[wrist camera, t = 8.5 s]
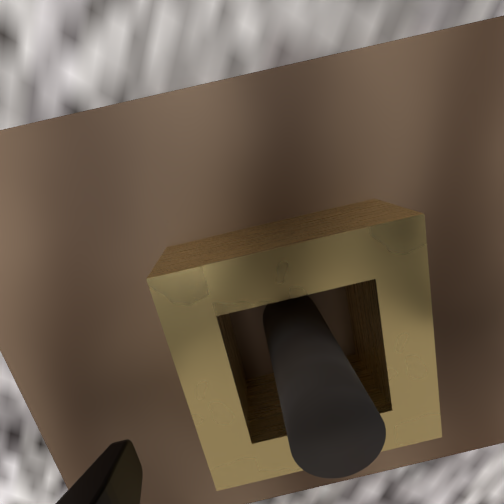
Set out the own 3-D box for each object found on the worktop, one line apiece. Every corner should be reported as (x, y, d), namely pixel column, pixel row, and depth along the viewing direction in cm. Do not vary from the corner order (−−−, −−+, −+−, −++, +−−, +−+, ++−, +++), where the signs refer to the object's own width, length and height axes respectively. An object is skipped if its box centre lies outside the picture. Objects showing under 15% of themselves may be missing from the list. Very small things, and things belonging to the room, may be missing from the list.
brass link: (374, 198, 11) (424, 213, 9) (395, 376, 13) (442, 437, 10) (166, 247, 11) (146, 278, 8) (218, 418, 13) (216, 491, 10)
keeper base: (542, 13, 11) (943, -165, 5) (534, 413, 16) (738, 585, 9) (-69, 152, 11) (-456, 151, 5) (101, 516, 16) (17, 760, 9)
